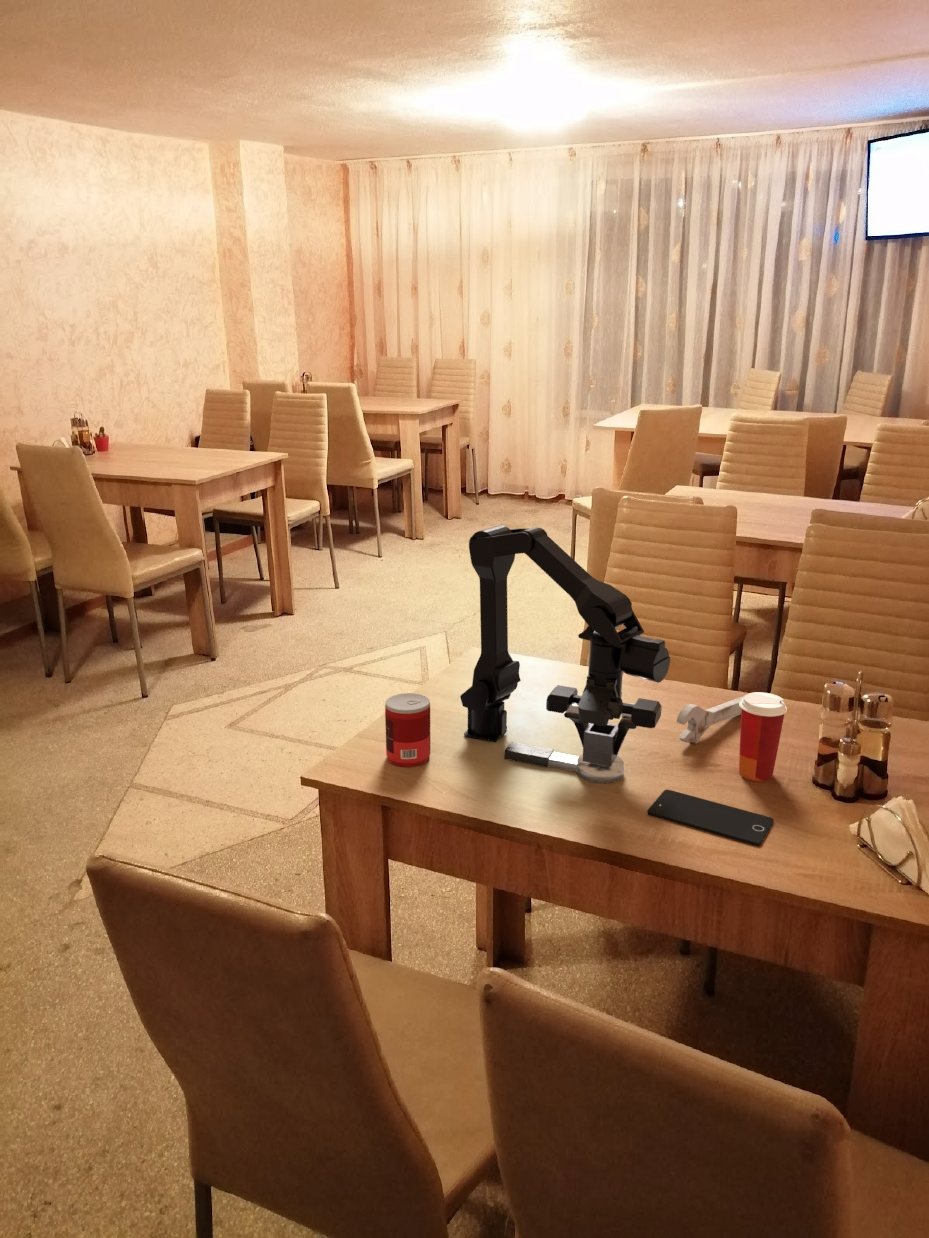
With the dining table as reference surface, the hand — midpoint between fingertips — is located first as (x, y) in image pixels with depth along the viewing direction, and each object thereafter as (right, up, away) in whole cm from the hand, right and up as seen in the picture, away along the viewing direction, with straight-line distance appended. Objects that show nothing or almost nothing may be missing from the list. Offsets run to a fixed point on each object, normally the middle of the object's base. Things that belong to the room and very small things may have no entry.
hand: (600, 751), depth 163 cm
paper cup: (+27, -4, +1) cm, 27 cm away
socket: (0, -1, 0) cm, 1 cm away
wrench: (+26, +2, +19) cm, 32 cm away
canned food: (-34, -2, +6) cm, 34 cm away
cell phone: (+15, -9, -13) cm, 22 cm away
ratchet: (-6, -3, +4) cm, 8 cm away
